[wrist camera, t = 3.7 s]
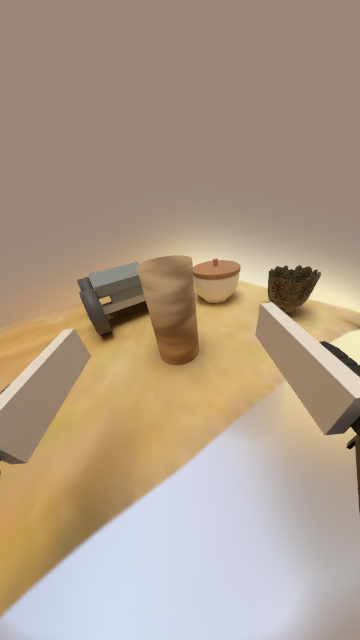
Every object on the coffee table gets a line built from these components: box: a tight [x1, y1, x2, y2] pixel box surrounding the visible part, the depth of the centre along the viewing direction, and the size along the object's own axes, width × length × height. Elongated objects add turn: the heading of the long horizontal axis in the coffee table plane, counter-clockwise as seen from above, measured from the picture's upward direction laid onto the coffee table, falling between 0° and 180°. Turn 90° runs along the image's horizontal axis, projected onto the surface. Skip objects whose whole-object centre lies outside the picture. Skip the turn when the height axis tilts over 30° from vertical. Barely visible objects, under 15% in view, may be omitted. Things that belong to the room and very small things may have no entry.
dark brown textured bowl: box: [268, 265, 321, 314], centre depth 29 cm, size 8×7×8 cm
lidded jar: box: [193, 259, 240, 303], centre depth 37 cm, size 11×11×9 cm
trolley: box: [77, 262, 146, 335], centre depth 38 cm, size 17×19×10 cm
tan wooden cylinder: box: [137, 256, 199, 365], centre depth 22 cm, size 6×6×14 cm
